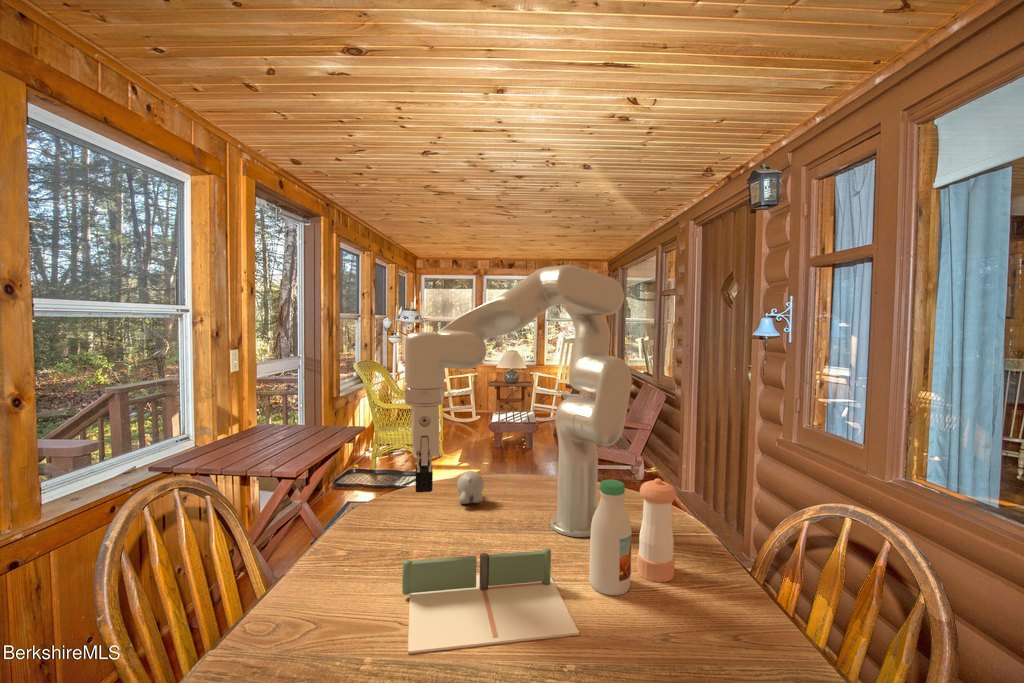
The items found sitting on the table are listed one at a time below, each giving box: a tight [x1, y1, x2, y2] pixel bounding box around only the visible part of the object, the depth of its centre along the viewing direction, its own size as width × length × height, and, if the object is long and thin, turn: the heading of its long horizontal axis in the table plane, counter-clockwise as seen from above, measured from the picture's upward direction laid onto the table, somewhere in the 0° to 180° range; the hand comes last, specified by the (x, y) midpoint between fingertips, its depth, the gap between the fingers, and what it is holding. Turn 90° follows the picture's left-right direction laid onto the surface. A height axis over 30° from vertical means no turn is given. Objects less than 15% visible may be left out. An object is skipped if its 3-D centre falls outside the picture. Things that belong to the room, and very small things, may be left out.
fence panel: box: [401, 555, 478, 596], centre depth 89 cm, size 13×2×6 cm, turn 101°
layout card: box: [407, 574, 580, 655], centre depth 86 cm, size 27×20×1 cm
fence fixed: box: [479, 547, 552, 591], centre depth 92 cm, size 14×2×7 cm, turn 101°
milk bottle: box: [588, 479, 632, 596], centre depth 93 cm, size 8×8×20 cm
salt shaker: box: [636, 477, 677, 583], centre depth 98 cm, size 7×7×19 cm
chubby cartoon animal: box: [456, 470, 485, 505], centre depth 135 cm, size 7×12×8 cm, turn 8°
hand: (423, 488), depth 96 cm, fingers closed
